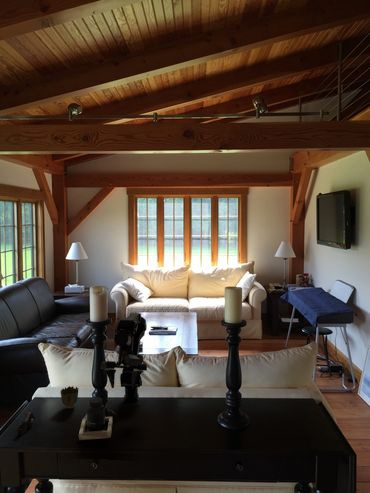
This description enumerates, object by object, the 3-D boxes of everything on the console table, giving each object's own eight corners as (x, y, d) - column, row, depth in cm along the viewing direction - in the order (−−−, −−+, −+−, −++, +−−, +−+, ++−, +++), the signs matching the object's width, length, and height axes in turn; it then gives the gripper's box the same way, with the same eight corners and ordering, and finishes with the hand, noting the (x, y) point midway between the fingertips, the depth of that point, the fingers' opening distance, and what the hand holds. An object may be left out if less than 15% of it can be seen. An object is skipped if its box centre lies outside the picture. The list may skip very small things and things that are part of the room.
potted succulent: (57, 410, 166) (56, 391, 165) (68, 402, 172) (67, 384, 172) (71, 413, 163) (71, 394, 162) (82, 405, 170) (82, 387, 169)
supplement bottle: (87, 436, 145) (86, 405, 144) (86, 427, 152) (85, 397, 151) (106, 433, 147) (105, 402, 146) (104, 424, 154) (104, 394, 153)
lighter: (26, 440, 148) (21, 432, 145) (21, 439, 148) (15, 431, 145) (37, 418, 155) (32, 410, 152) (31, 417, 155) (27, 409, 152)
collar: (83, 423, 154) (82, 418, 154) (112, 421, 156) (112, 416, 156) (78, 440, 143) (78, 434, 143) (110, 437, 144) (110, 431, 144)
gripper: (114, 345, 153) (111, 388, 147) (155, 349, 163) (153, 389, 158) (102, 347, 161) (98, 387, 156) (141, 350, 171) (139, 388, 166)
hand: (123, 388), depth 159 cm, fingers open, 9 cm apart
